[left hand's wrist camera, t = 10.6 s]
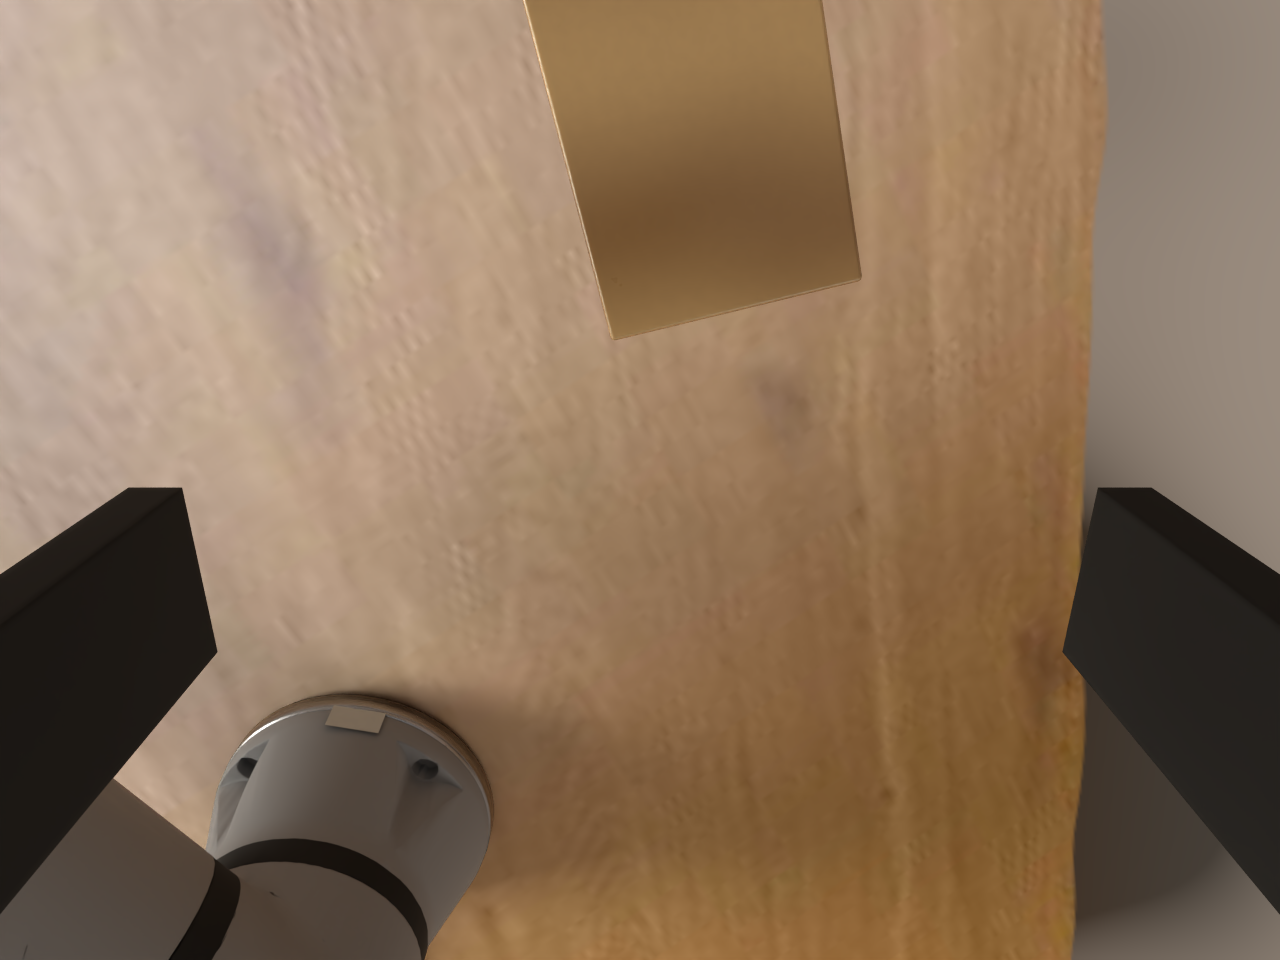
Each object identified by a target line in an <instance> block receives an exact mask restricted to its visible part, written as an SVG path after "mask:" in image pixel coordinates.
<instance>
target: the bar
mask: <svg viewBox="0 0 1280 960" xmlns="http://www.w3.org/2000/svg"><path fill="white" fill-rule="evenodd" d="M523 4H524V8H525V12H526V15H527V19H528V23H529V27H530V31H531V34H532V38H533V42H534V46H535V50H536V54H537V57H538V61H539V65H540V69H541V73H542V77H543V80H544V84H545V88H546V92H547V96H548V100H549V103H550V107H551V111H552V115H553V119H554V123H555V126H556V130H557V134H558V138H559V142H560V146H561V149H562V153H563V157H564V161H565V165H566V169H567V172H568V176H569V180H570V184H571V188H572V191H573V195H574V199H575V203H576V207H577V211H578V214H579V218H580V222H581V226H582V230H583V234H584V237H585V241H586V245H587V249H588V253H589V257H590V260H591V264H592V268H593V272H594V276H595V280H596V283H597V287H598V291H599V295H600V299H601V303H602V306H603V310H604V314H605V318H606V322H607V326H608V329H609V333H610V337H611V338H612V340H618V339H622V338H627V337H631V336H635V335H639V334H643V333H647V332H651V331H655V330H660V329H664V328H668V327H672V326H676V325H680V324H684V323H688V322H693V321H697V320H701V319H705V318H709V317H713V316H717V315H721V314H725V313H730V312H734V311H738V310H742V309H746V308H750V307H754V306H758V305H763V304H767V303H771V302H775V301H779V300H783V299H787V298H791V297H796V296H800V295H804V294H808V293H812V292H816V291H820V290H824V289H829V288H833V287H837V286H841V285H845V284H849V283H853V282H857V281H859V280H861V277H862V274H861V267H860V261H859V254H858V247H857V240H856V233H855V226H854V219H853V212H852V205H851V198H850V191H849V184H848V177H847V170H846V163H845V156H844V149H843V142H842V135H841V128H840V121H839V114H838V107H837V100H836V94H835V87H834V80H833V73H832V66H831V59H830V52H829V45H828V38H827V31H826V24H825V17H824V10H823V3H822V0H523Z"/></svg>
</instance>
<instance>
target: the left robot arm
mask: <svg viewBox="0 0 1280 960" xmlns="http://www.w3.org/2000/svg"><path fill="white" fill-rule="evenodd" d="M216 653H217V647H216V643H215V638H214V633H213V629H212V624H211V619H210V615H209V610H208V606H207V601H206V596H205V592H204V587H203V582H202V578H201V573H200V569H199V564H198V559H197V555H196V550H195V545H194V541H193V536H192V532H191V527H190V522H189V518H188V513H187V508H186V504H185V499H184V495H183V490H182V488H127V489H126V490H124V491H123V492H121V493H120V494H118V495H117V496H115V497H114V498H113V499H111V500H110V501H108V502H107V503H105V504H104V505H102V506H101V507H99V508H98V509H96V510H95V511H93V512H92V513H90V514H89V515H87V516H86V517H84V518H83V519H81V520H80V521H79V522H77V523H76V524H74V525H73V526H71V527H70V528H68V529H67V530H65V531H64V532H62V533H61V534H59V535H58V536H56V537H55V538H53V539H52V540H50V541H49V542H47V543H46V544H45V545H43V546H42V547H40V548H39V549H37V550H36V551H34V552H33V553H31V554H30V555H28V556H27V557H25V558H24V559H22V560H21V561H19V562H18V563H16V564H15V565H13V566H12V567H11V568H9V569H8V570H6V571H5V572H3V573H2V574H0V960H424V959H425V955H426V952H427V949H428V946H429V944H430V943H431V942H432V940H433V939H434V937H435V936H436V934H437V933H438V931H439V930H440V928H441V927H442V925H443V924H444V922H445V921H446V920H447V918H448V917H449V915H450V914H451V912H452V911H453V909H454V908H455V906H456V905H457V903H458V902H459V900H460V899H461V898H462V896H463V895H464V893H465V892H466V890H467V889H468V887H469V886H470V884H471V883H472V881H473V880H474V878H475V876H476V874H477V872H478V870H479V868H480V866H481V863H482V861H483V858H484V856H485V853H486V851H487V847H488V843H489V839H490V834H491V829H492V825H493V816H494V804H493V797H492V792H491V788H490V784H489V782H488V779H487V777H486V774H485V772H484V770H483V769H482V767H481V765H480V763H479V762H478V760H477V759H476V757H475V756H474V754H473V753H472V752H471V751H470V749H469V748H468V747H467V746H466V745H465V744H464V743H463V742H462V741H461V740H460V739H459V738H458V737H457V736H456V735H455V734H454V733H453V732H451V731H450V730H449V729H448V728H446V727H445V726H443V725H442V724H441V723H439V722H438V721H436V720H434V719H433V718H431V717H429V716H428V715H426V714H424V713H422V712H420V711H417V710H415V709H413V708H411V707H408V706H405V705H403V704H400V703H397V702H393V701H390V700H386V699H381V698H377V697H371V696H363V695H348V694H343V695H327V696H319V697H314V698H309V699H305V700H302V701H299V702H295V703H293V704H290V705H288V706H285V707H283V708H281V709H279V710H277V711H276V712H274V713H272V714H270V715H269V716H268V717H266V718H265V719H263V720H262V721H261V722H260V723H258V724H257V725H256V726H255V727H254V728H253V729H252V730H251V731H250V732H249V733H248V735H247V736H246V737H245V739H244V740H243V741H242V743H241V744H240V746H239V747H238V749H237V750H236V752H235V753H234V755H233V756H232V758H231V759H230V761H229V763H228V765H227V767H226V769H225V772H224V774H223V776H222V779H221V781H220V784H219V786H218V789H217V793H216V797H215V802H214V808H213V813H212V818H211V824H210V829H209V834H208V840H207V845H206V850H204V849H203V848H202V847H200V846H199V845H198V844H197V843H195V842H194V841H193V840H191V839H190V838H189V837H188V836H186V835H185V834H184V833H182V832H181V831H180V830H179V829H177V828H176V827H175V826H174V825H172V824H171V823H170V822H168V821H167V820H166V819H165V818H163V817H162V816H161V815H159V814H158V813H157V812H156V811H154V810H153V809H152V808H150V807H149V806H148V805H147V804H145V803H144V802H143V801H142V800H140V799H139V798H138V797H136V796H135V795H134V794H133V793H131V792H130V791H129V790H127V789H126V788H125V787H124V786H122V785H121V784H120V783H118V782H117V781H116V780H115V779H113V778H114V776H115V775H116V774H117V773H118V771H119V770H120V769H121V768H122V767H123V765H124V764H125V763H126V762H127V761H128V759H129V758H130V757H131V756H132V755H133V753H134V752H135V751H136V750H137V749H138V747H139V746H140V745H141V744H142V743H143V741H144V740H145V739H146V738H147V736H148V735H149V734H150V733H151V732H152V730H153V729H154V728H155V727H156V726H157V724H158V723H159V722H160V721H161V720H162V718H163V717H164V716H165V715H166V714H167V712H168V711H169V710H170V709H171V707H172V706H173V705H174V704H175V703H176V701H177V700H178V699H179V698H180V697H181V695H182V694H183V693H184V692H185V691H186V689H187V688H188V687H189V686H190V685H191V683H192V682H193V681H194V680H195V678H196V677H197V676H198V675H199V674H200V672H201V671H202V670H203V669H204V668H205V666H206V665H207V664H208V663H209V662H210V660H211V659H212V658H213V657H214V656H215V654H216ZM1063 653H1064V654H1065V656H1066V657H1067V658H1068V659H1069V660H1070V662H1071V663H1072V664H1073V665H1074V666H1075V668H1076V669H1077V670H1078V671H1079V672H1080V674H1081V675H1082V676H1083V677H1084V678H1085V680H1086V681H1087V682H1088V683H1089V685H1090V686H1091V687H1092V688H1093V689H1094V691H1095V692H1096V693H1097V694H1098V695H1099V697H1100V698H1101V699H1102V700H1103V701H1104V703H1105V704H1106V705H1107V706H1108V707H1109V709H1110V710H1111V711H1112V712H1113V714H1114V715H1115V716H1116V717H1117V718H1118V720H1119V721H1120V722H1121V723H1122V724H1123V726H1124V727H1125V728H1126V729H1127V730H1128V732H1129V733H1130V734H1131V735H1132V736H1133V738H1134V739H1135V740H1136V741H1137V742H1138V744H1139V745H1140V746H1141V747H1142V749H1143V750H1144V751H1145V752H1146V753H1147V755H1148V756H1149V757H1150V758H1151V759H1152V761H1153V762H1154V763H1155V764H1156V765H1157V767H1158V768H1159V769H1160V770H1161V771H1162V773H1163V774H1164V775H1165V776H1166V778H1167V779H1168V780H1169V781H1170V782H1171V784H1172V785H1173V786H1174V787H1175V788H1176V790H1177V791H1178V792H1179V793H1180V794H1181V796H1182V797H1183V798H1184V799H1185V800H1186V802H1187V803H1188V804H1189V805H1190V807H1191V808H1192V809H1193V810H1194V811H1195V813H1196V814H1197V815H1198V816H1199V817H1200V819H1201V820H1202V821H1203V822H1204V823H1205V825H1206V826H1207V827H1208V828H1209V829H1210V831H1211V832H1212V833H1213V834H1214V836H1215V837H1216V838H1217V839H1218V840H1219V842H1220V843H1221V844H1222V845H1223V846H1224V848H1225V849H1226V850H1227V851H1228V852H1229V854H1230V855H1231V856H1232V857H1233V858H1234V860H1235V861H1236V862H1237V863H1238V864H1239V866H1240V867H1241V868H1242V869H1243V871H1244V872H1245V873H1246V874H1247V875H1248V877H1249V878H1250V879H1251V880H1252V881H1253V883H1254V884H1255V885H1256V886H1257V887H1258V889H1259V890H1260V891H1261V892H1262V893H1263V895H1264V896H1265V897H1266V898H1267V899H1268V901H1269V902H1270V903H1271V904H1272V906H1273V907H1274V908H1275V909H1276V910H1277V912H1278V913H1279V914H1280V574H1278V573H1277V572H1275V571H1274V570H1272V569H1271V568H1269V567H1268V566H1267V565H1265V564H1264V563H1262V562H1261V561H1259V560H1258V559H1256V558H1255V557H1253V556H1252V555H1250V554H1249V553H1247V552H1246V551H1244V550H1243V549H1241V548H1240V547H1238V546H1237V545H1235V544H1234V543H1233V542H1231V541H1230V540H1228V539H1227V538H1225V537H1224V536H1222V535H1221V534H1219V533H1218V532H1216V531H1215V530H1213V529H1212V528H1210V527H1209V526H1207V525H1206V524H1204V523H1203V522H1201V521H1200V520H1199V519H1197V518H1196V517H1194V516H1193V515H1191V514H1190V513H1188V512H1187V511H1185V510H1184V509H1182V508H1181V507H1179V506H1178V505H1176V504H1175V503H1173V502H1172V501H1170V500H1169V499H1167V498H1166V497H1165V496H1163V495H1162V494H1160V493H1159V492H1157V491H1156V490H1154V489H1153V488H1098V490H1097V495H1096V499H1095V504H1094V509H1093V513H1092V518H1091V522H1090V527H1089V532H1088V536H1087V541H1086V546H1085V550H1084V555H1083V559H1082V564H1081V569H1080V573H1079V578H1078V582H1077V587H1076V592H1075V596H1074V601H1073V606H1072V610H1071V615H1070V619H1069V624H1068V629H1067V633H1066V638H1065V643H1064V647H1063Z"/></svg>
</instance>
